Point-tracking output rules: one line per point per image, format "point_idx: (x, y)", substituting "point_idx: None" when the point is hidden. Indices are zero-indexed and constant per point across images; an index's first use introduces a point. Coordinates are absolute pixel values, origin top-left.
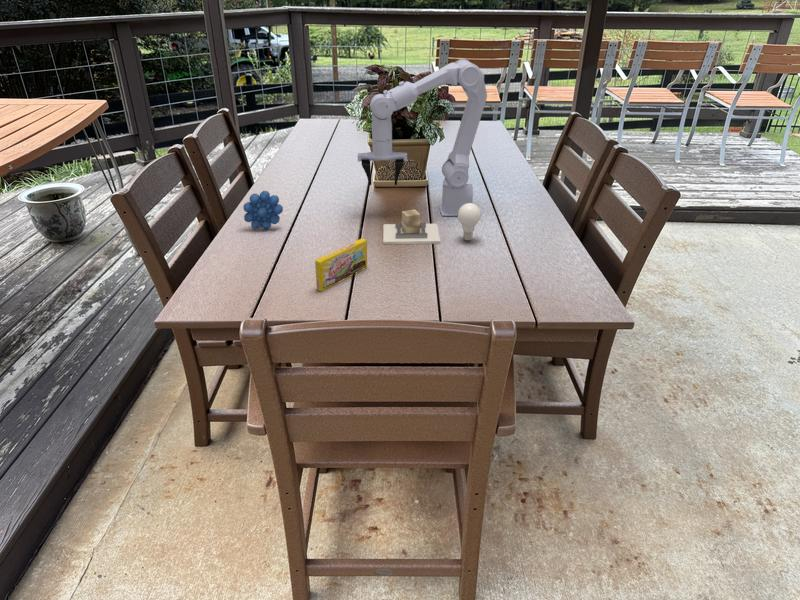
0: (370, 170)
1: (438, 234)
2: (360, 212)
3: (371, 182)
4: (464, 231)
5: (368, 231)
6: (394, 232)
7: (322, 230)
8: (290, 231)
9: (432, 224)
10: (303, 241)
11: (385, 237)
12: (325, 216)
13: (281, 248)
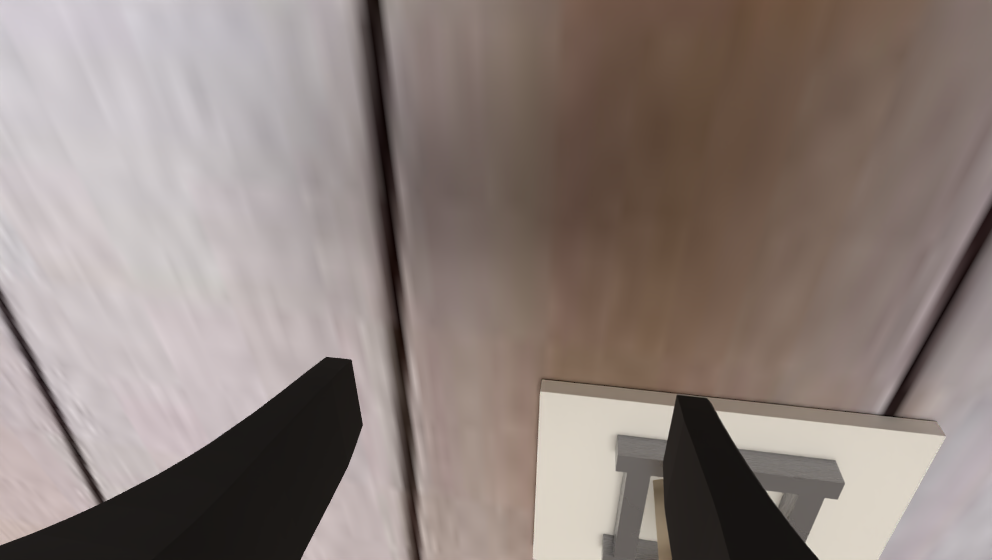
0: (249, 475)
1: (876, 553)
2: (351, 120)
3: (348, 361)
4: None
5: (448, 418)
6: (602, 493)
7: (187, 371)
8: (31, 359)
9: (902, 443)
10: (150, 459)
11: (546, 528)
12: (114, 178)
13: (94, 495)
